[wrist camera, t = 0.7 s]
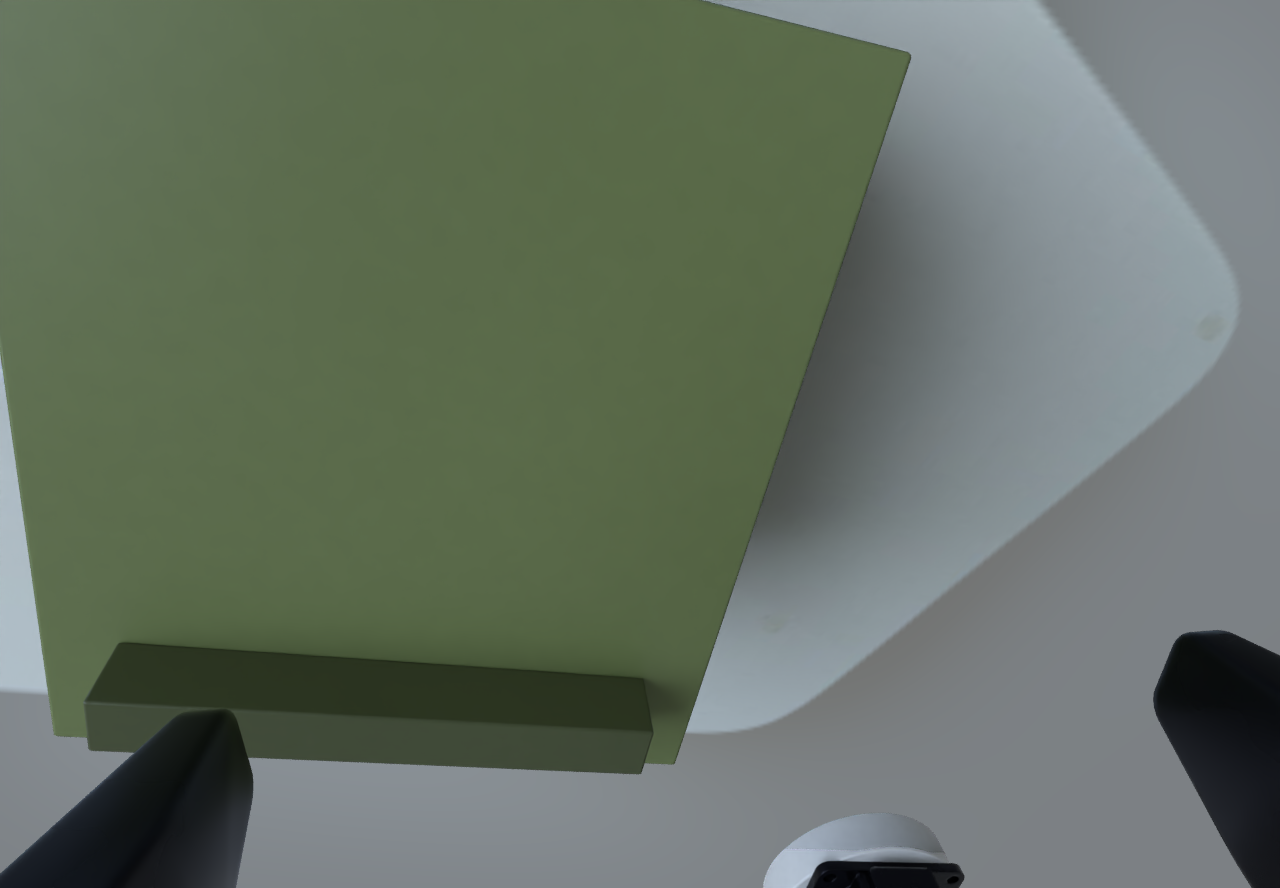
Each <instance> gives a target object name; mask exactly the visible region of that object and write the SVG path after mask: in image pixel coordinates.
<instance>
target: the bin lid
mask: <svg viewBox="0 0 1280 888" xmlns="http://www.w3.org/2000/svg"><path fill="white" fill-rule="evenodd" d="M910 60H911V55H910V54H909V53H908V52H905V51H901V50H897V49H893V48H889V47H886V46H882V45H878V44H874V43H870V42H866V41H862V40H858V39H854V38H850V37H846V36H842V35H838V34H834V33H830V32H826V31H822V30H818V29H814V28H810V27H806V26H802V25H798V24H794V23H790V22H786V21H782V20H778V19H774V18H770V17H767V16H763V15H759V14H755V13H751V12H747V11H743V10H739V9H735V8H731V7H727V6H723V5H719V4H715V3H711V2H707V1H703V0H0V355H1V362H2V369H3V376H4V383H5V390H6V397H7V404H8V411H9V418H10V426H11V433H12V440H13V447H14V454H15V461H16V468H17V475H18V482H19V489H20V497H21V504H22V511H23V518H24V525H25V532H26V539H27V546H28V553H29V560H30V568H31V575H32V582H33V589H34V596H35V603H36V610H37V617H38V624H39V631H40V639H41V646H42V653H43V660H44V667H45V674H46V681H47V688H48V695H49V702H50V710H51V716H52V724H53V731H54V735H56V736H64V737H86V738H87V740H88V748H89V750H91V751H108V752H109V751H110V752H133V753H135V752H136V751H137V750H138V749H139V748H140V747H141V746H142V745H144V744H145V743H146V742H147V741H148V740H149V739H150V738H151V737H152V736H154V735H155V734H156V733H157V732H158V731H159V730H160V729H161V728H162V727H164V726H165V725H166V724H167V723H168V722H169V721H170V720H171V719H173V718H174V717H175V716H177V715H179V714H180V713H183V712H186V711H196V710H208V709H221V708H224V709H228V710H230V711H232V713H233V714H234V715H235V717H236V719H237V722H238V725H239V729H240V732H241V735H242V739H243V742H244V746H245V749H246V753H247V756H248V758H271V759H294V760H318V761H342V762H364V763H365V762H367V763H387V764H388V763H389V764H410V765H434V766H458V767H481V768H505V769H527V770H550V771H574V772H597V773H620V774H621V773H622V774H641V772H642V769H643V766H644V763H651V764H674V763H675V761H676V758H677V755H678V752H679V749H680V746H681V743H682V740H683V737H684V734H685V731H686V728H687V725H688V722H689V720H690V717H691V714H692V711H693V708H694V705H695V702H696V699H697V696H698V693H699V690H700V687H701V684H702V681H703V678H704V675H705V672H706V669H707V666H708V663H709V660H710V657H711V654H712V651H713V648H714V645H715V642H716V639H717V636H718V633H719V630H720V627H721V624H722V621H723V618H724V615H725V612H726V609H727V606H728V603H729V600H730V597H731V594H732V591H733V588H734V585H735V582H736V579H737V576H738V573H739V570H740V567H741V564H742V561H743V558H744V555H745V552H746V549H747V546H748V543H749V540H750V537H751V534H752V531H753V528H754V525H755V522H756V519H757V517H758V514H759V511H760V508H761V505H762V502H763V499H764V496H765V493H766V490H767V487H768V484H769V481H770V478H771V475H772V472H773V469H774V466H775V463H776V460H777V457H778V454H779V451H780V448H781V445H782V442H783V439H784V436H785V433H786V430H787V427H788V424H789V421H790V418H791V415H792V412H793V409H794V406H795V403H796V400H797V397H798V394H799V391H800V388H801V385H802V382H803V379H804V376H805V373H806V370H807V367H808V364H809V361H810V358H811V355H812V352H813V349H814V346H815V343H816V340H817V337H818V334H819V331H820V328H821V325H822V322H823V319H824V317H825V314H826V311H827V308H828V305H829V302H830V299H831V296H832V293H833V290H834V287H835V284H836V281H837V278H838V275H839V272H840V269H841V266H842V263H843V260H844V257H845V254H846V251H847V248H848V245H849V242H850V239H851V236H852V233H853V230H854V227H855V224H856V221H857V218H858V215H859V212H860V209H861V206H862V203H863V200H864V197H865V194H866V191H867V188H868V185H869V182H870V179H871V176H872V173H873V170H874V167H875V164H876V161H877V158H878V155H879V152H880V149H881V146H882V143H883V140H884V137H885V134H886V131H887V128H888V125H889V122H890V119H891V116H892V114H893V111H894V108H895V105H896V102H897V99H898V96H899V93H900V90H901V87H902V84H903V81H904V78H905V75H906V72H907V69H908V66H909V63H910Z"/></svg>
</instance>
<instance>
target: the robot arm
mask: <svg viewBox="0 0 1280 888" xmlns="http://www.w3.org/2000/svg"><path fill="white" fill-rule="evenodd" d="M1153 702H1154V709H1155V712H1156V716H1157V718H1158V720H1159V722H1160V724H1161V726H1162V727H1163V729H1164V731H1165V733H1166V735H1167V737H1168V738H1169V741H1170V742H1171V744H1172V746H1173V748H1174V750H1175V752H1176V754H1177V755H1178V757H1179V759H1180V761H1181V763H1182V765H1183V766H1184V768H1185V770H1186V772H1187V774H1188V776H1189V778H1190V779H1191V781H1192V783H1193V785H1194V787H1195V789H1196V791H1197V792H1198V794H1199V796H1200V798H1201V800H1202V802H1203V803H1204V805H1205V807H1206V809H1207V811H1208V813H1209V815H1210V817H1211V818H1212V820H1213V822H1214V824H1215V826H1216V828H1217V830H1218V831H1219V833H1220V835H1221V837H1222V839H1223V841H1224V842H1225V844H1226V846H1227V847H1228V849H1229V851H1230V853H1231V855H1232V856H1233V858H1234V860H1235V862H1236V864H1237V865H1238V867H1239V868H1240V870H1241V872H1242V873H1243V875H1244V876H1245V878H1246V880H1247V881H1248V883H1249V884H1250V886H1251V887H1252V888H1280V655H1278V654H1275V653H1273V652H1271V651H1269V650H1267V649H1265V648H1263V647H1261V646H1258V645H1256V644H1254V643H1252V642H1250V641H1248V640H1246V639H1243V638H1241V637H1239V636H1237V635H1235V634H1233V633H1230V632H1227V631H1221V630H1213V631H1200V632H1189V633H1185V634H1182V635H1181V636H1180V637H1179V638H1178V639H1177V640H1176V641H1175V643H1174V644H1173V647H1172V649H1171V651H1170V654H1169V656H1168V659H1167V661H1166V664H1165V666H1164V669H1163V671H1162V673H1161V676H1160V678H1159V681H1158V683H1157V686H1156V688H1155V691H1154V697H1153ZM252 798H253V774H252V770H251V766H250V763H249V760H248V756H247V753H246V749H245V746H244V742H243V739H242V735H241V732H240V729H239V725H238V722H237V719H236V717H235V715H234V714H233V713H232V711H230V710H228V709H224V708H221V709H208V710H196V711H186V712H183V713H180V714H179V715H177V716H175V717H174V718H173V719H171V720H170V721H169V722H168V723H167V724H166V725H165V726H164V727H162V728H161V729H160V730H159V731H158V732H157V733H156V734H155V735H154V736H152V737H151V738H150V739H149V740H148V741H147V742H146V743H145V744H144V745H142V746H141V747H140V748H139V749H138V750H137V751H136V752H135V753H134V754H133V755H131V756H130V757H129V758H128V759H127V760H126V761H125V762H124V763H123V764H121V765H120V766H119V767H118V768H117V769H116V770H115V771H114V772H113V773H111V774H110V775H109V776H108V777H107V778H106V779H105V780H104V781H102V782H101V783H100V784H99V785H98V786H97V787H96V788H95V789H94V790H93V791H91V792H90V793H89V794H88V795H87V796H86V797H85V798H84V799H82V800H81V801H80V802H79V803H78V804H77V805H76V806H75V807H74V808H73V809H71V810H70V811H69V812H68V813H67V814H66V815H65V816H64V817H62V818H61V819H60V820H59V821H58V822H57V823H56V824H55V825H54V826H52V827H51V828H50V829H49V830H48V831H47V832H46V833H45V834H44V835H43V836H42V837H40V838H39V839H38V840H37V841H36V842H35V843H34V844H33V845H31V846H30V847H29V848H28V849H27V850H26V851H25V852H24V853H23V854H21V855H20V856H19V857H18V858H17V859H16V860H15V861H14V862H13V863H12V864H10V865H9V866H8V867H7V868H6V869H5V870H4V871H3V872H2V873H0V888H236V885H237V879H238V874H239V868H240V863H241V858H242V852H243V847H244V842H245V837H246V831H247V825H248V820H249V815H250V810H251V805H252ZM963 880H964V874H963V873H962V870H961V868H960V867H959V865H957V864H953V863H910V862H863V861H826V862H823V863H821V864H819V865H818V866H817V867H816V868H815V871H814V873H813V875H812V877H811V879H810V881H809V883H808V885H807V887H806V888H959V887H960V885H961V884H962V882H963Z"/></svg>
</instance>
